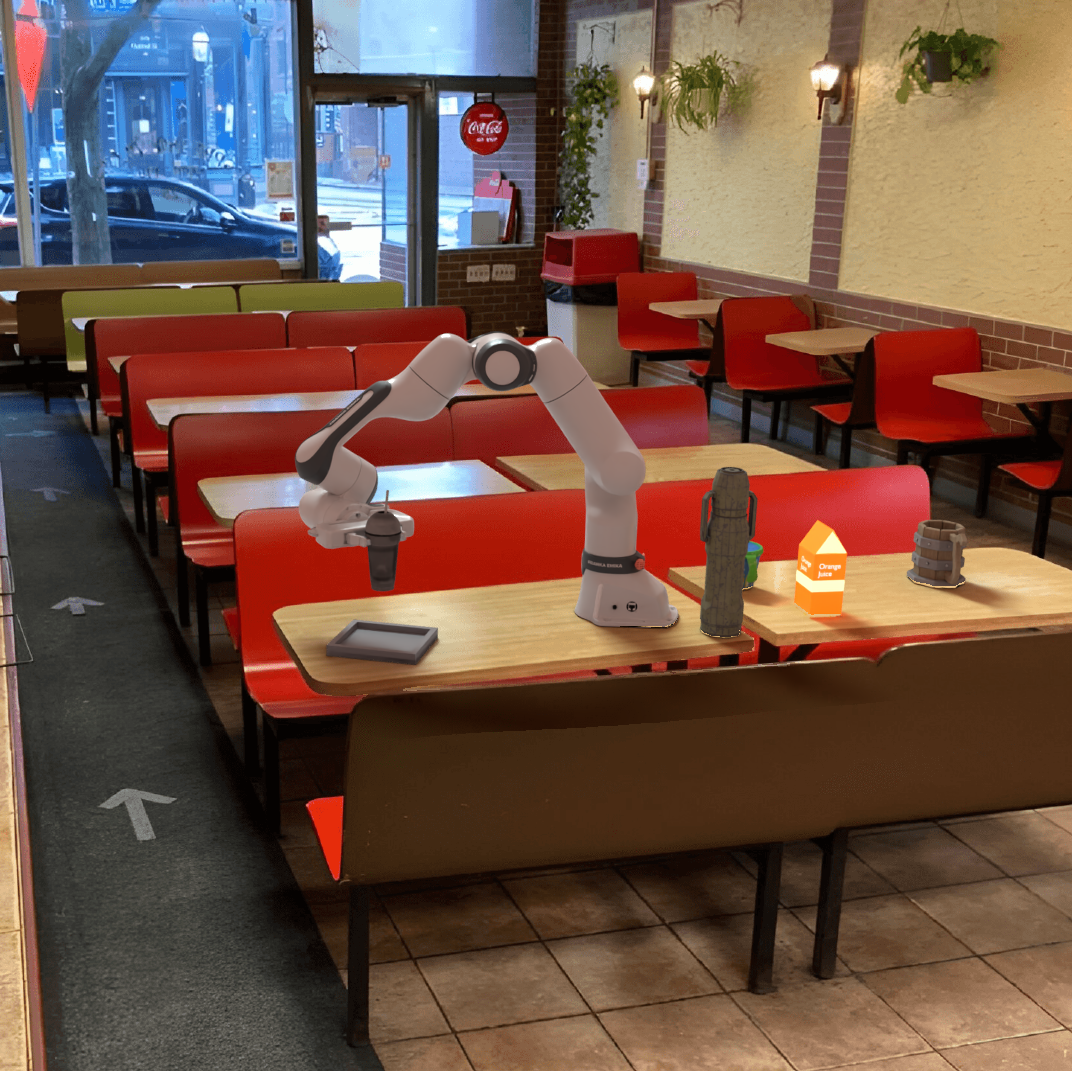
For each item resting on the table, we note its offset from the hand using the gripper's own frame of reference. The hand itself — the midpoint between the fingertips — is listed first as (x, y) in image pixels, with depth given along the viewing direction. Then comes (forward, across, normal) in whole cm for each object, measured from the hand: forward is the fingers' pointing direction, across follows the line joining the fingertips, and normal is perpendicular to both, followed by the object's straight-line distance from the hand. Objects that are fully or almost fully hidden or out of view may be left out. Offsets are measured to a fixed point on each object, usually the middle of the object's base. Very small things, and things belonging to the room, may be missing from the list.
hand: (385, 539), depth 259 cm
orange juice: (+32, +93, +22) cm, 100 cm away
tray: (-1, 0, +22) cm, 22 cm away
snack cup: (+9, +90, +22) cm, 94 cm away
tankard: (+35, +134, +22) cm, 140 cm away
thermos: (+30, +64, +22) cm, 74 cm away
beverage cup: (-1, 0, +10) cm, 10 cm away
